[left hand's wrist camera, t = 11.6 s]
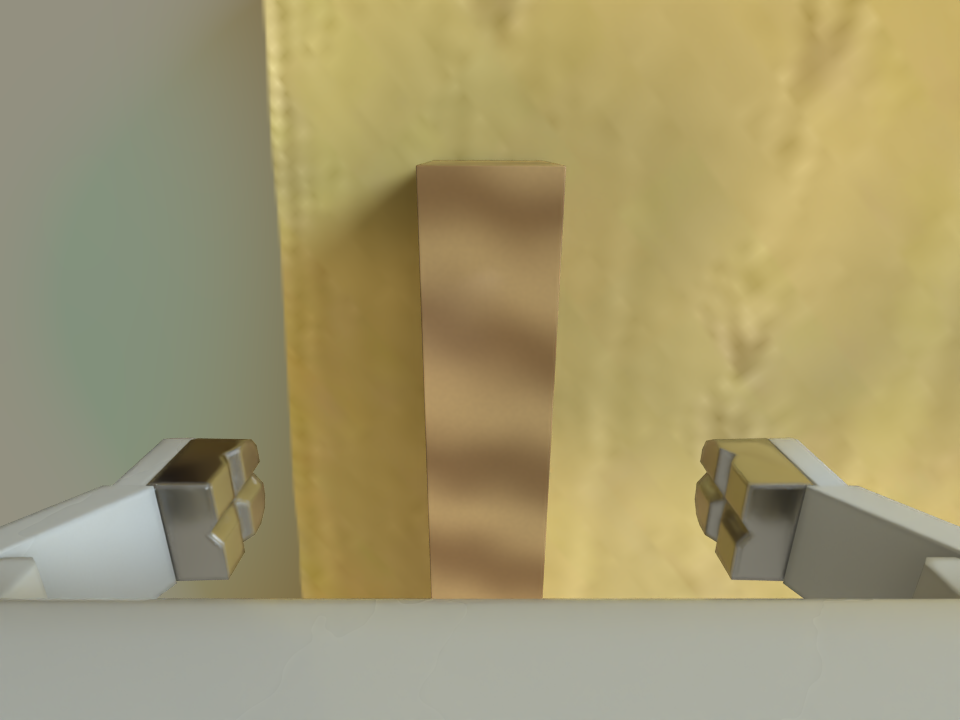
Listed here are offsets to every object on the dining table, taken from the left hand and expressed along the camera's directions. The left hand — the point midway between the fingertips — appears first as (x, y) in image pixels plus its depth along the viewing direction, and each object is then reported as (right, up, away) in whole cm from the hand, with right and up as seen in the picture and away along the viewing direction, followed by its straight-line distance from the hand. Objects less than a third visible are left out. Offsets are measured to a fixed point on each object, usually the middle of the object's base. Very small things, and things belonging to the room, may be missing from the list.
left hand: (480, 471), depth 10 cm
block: (0, -23, +31) cm, 39 cm away
